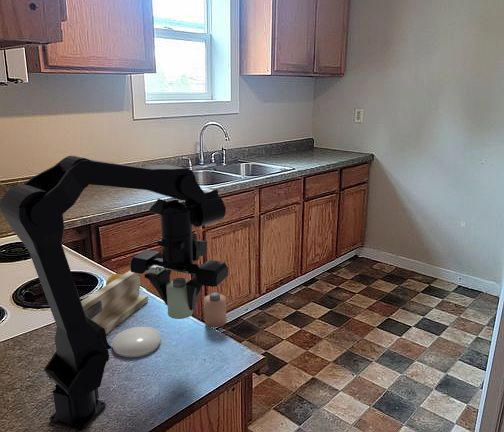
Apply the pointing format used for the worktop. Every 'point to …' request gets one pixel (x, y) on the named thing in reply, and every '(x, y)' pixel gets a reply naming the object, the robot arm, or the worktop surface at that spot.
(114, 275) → the bread roll
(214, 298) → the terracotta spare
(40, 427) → the worktop surface
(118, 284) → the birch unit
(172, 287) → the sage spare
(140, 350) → the ceramic plate
